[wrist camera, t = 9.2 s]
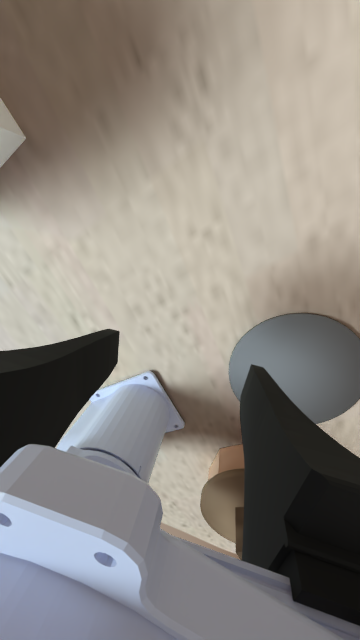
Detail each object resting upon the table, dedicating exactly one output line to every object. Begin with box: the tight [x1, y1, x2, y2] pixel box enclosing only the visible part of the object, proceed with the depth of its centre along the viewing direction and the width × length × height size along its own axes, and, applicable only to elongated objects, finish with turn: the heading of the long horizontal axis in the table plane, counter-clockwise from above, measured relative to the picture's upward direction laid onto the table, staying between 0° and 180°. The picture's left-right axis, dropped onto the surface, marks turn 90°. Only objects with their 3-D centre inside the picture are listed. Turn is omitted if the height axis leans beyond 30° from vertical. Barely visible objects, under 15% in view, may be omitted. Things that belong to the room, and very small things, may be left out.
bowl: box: [208, 444, 244, 480], centre depth 25 cm, size 9×9×4 cm
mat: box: [229, 313, 360, 424], centre depth 21 cm, size 12×12×1 cm
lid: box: [200, 468, 244, 560], centre depth 21 cm, size 11×11×4 cm
